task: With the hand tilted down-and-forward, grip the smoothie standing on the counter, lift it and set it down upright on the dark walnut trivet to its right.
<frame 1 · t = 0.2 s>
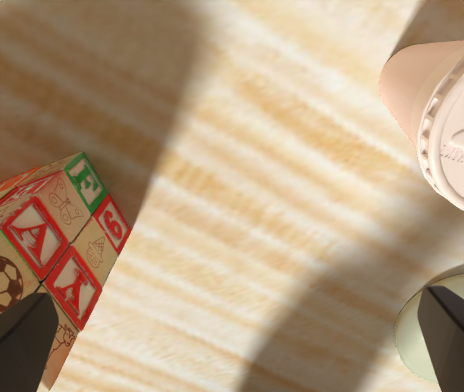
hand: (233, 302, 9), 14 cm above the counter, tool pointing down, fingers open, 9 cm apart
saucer: (463, 327, 28), on the counter
smoothie: (411, 80, 21), on the counter
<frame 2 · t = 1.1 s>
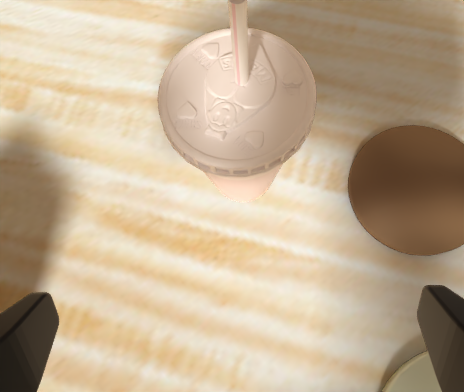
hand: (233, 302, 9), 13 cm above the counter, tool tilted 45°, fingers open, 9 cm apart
trivet: (414, 189, 23), on the counter
smoothie: (243, 175, 25), on the counter
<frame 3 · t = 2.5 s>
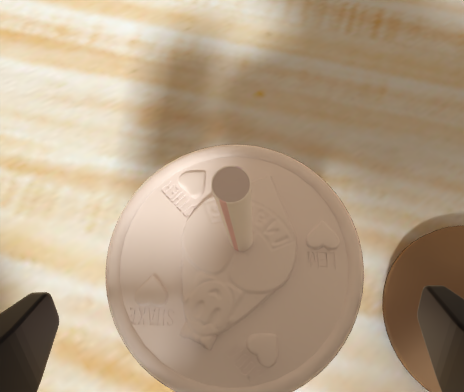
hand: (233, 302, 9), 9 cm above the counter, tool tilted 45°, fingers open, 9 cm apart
smoothie: (243, 288, 19), on the counter
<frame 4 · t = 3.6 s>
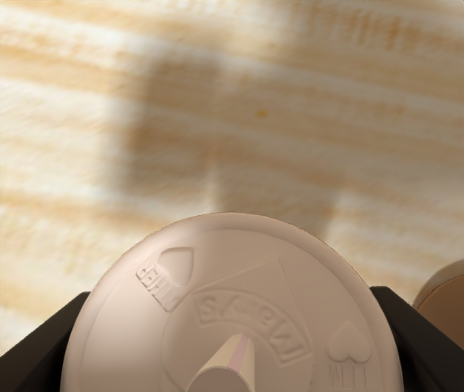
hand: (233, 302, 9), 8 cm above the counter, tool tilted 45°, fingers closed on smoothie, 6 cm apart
smoothie: (243, 339, 16), on the counter, touching gripper
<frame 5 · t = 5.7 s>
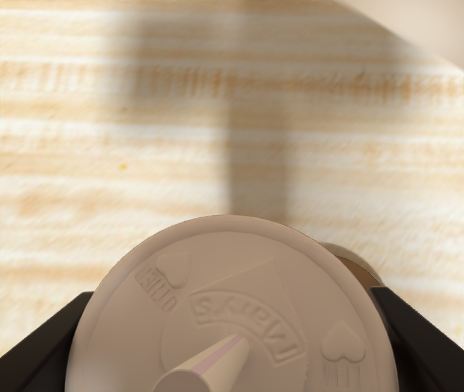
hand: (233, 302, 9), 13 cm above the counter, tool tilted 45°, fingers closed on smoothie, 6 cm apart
trivet: (319, 328, 21), on the counter
smoothie: (253, 337, 17), point 5 cm above the counter, touching gripper
when the fingers open (9 cm above the counter, at t = 7.6 s): smoothie stays where it is, resting on trivet.
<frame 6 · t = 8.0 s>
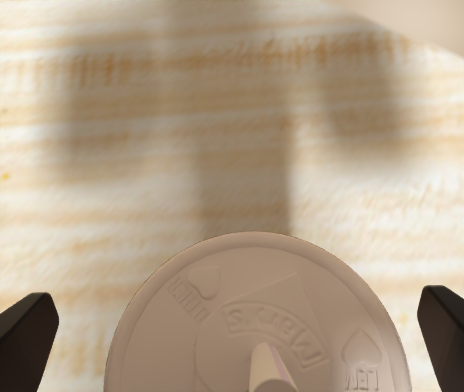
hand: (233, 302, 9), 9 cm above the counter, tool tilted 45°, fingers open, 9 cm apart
smoothie: (254, 342, 17), resting on trivet
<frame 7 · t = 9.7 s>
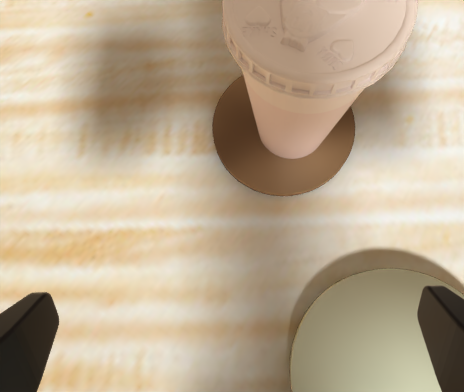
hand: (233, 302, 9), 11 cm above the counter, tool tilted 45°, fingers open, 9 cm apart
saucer: (394, 375, 19), on the counter
trivet: (282, 129, 22), on the counter
smoothie: (291, 129, 22), resting on trivet
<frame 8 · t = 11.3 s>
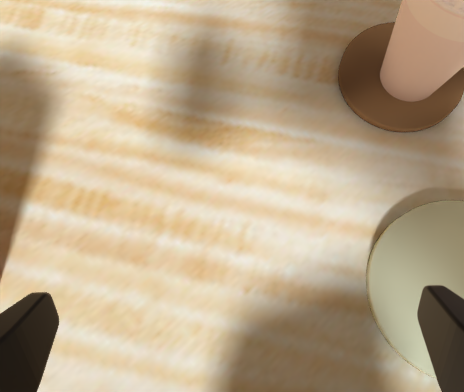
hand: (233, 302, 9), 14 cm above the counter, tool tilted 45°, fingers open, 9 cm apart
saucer: (455, 289, 22), on the counter
trivet: (398, 78, 26), on the counter
smoothie: (407, 78, 25), resting on trivet
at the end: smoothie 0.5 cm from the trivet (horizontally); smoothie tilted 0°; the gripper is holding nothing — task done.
